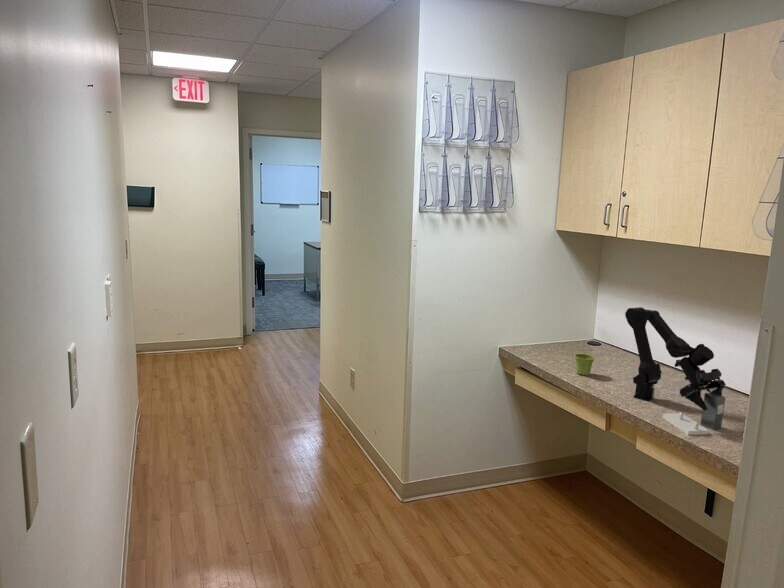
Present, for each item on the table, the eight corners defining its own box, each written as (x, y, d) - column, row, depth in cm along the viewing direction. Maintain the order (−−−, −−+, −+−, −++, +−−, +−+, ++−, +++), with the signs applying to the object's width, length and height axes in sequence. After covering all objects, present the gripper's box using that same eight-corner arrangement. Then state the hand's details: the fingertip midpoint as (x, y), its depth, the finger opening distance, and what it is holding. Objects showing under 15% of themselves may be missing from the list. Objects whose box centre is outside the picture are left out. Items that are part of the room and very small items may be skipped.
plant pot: (585, 370, 281) (587, 353, 279) (597, 376, 272) (599, 358, 271) (568, 371, 279) (570, 353, 277) (579, 377, 270) (581, 359, 268)
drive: (700, 424, 219) (704, 393, 217) (707, 423, 220) (712, 392, 218) (713, 430, 214) (718, 398, 212) (721, 428, 215) (725, 397, 213)
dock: (662, 417, 225) (663, 407, 224) (681, 416, 226) (682, 407, 225) (687, 434, 209) (689, 424, 208) (708, 434, 210) (709, 424, 209)
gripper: (690, 364, 213) (713, 402, 205) (724, 359, 221) (747, 396, 213) (669, 377, 222) (691, 415, 214) (703, 372, 229) (725, 408, 221)
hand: (714, 408), depth 215 cm, fingers open, 9 cm apart
